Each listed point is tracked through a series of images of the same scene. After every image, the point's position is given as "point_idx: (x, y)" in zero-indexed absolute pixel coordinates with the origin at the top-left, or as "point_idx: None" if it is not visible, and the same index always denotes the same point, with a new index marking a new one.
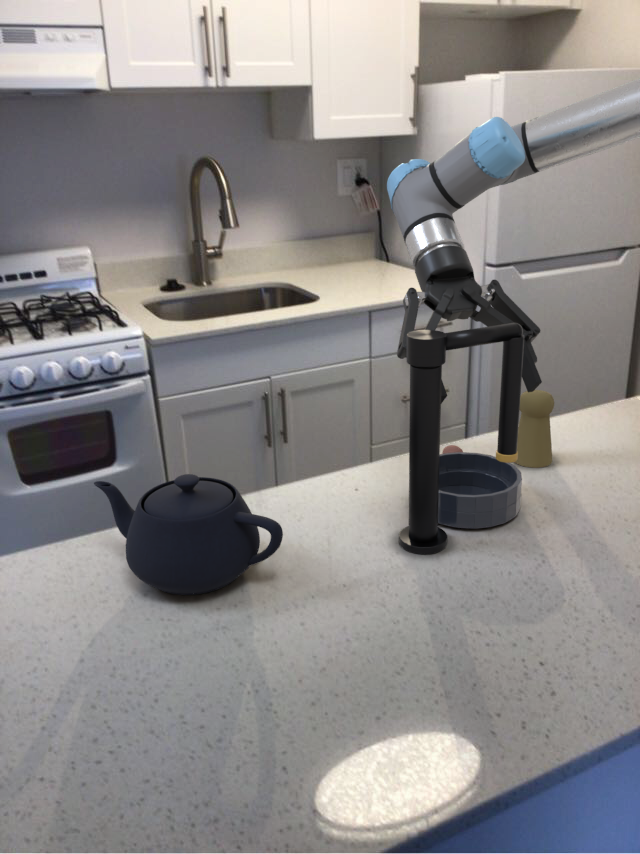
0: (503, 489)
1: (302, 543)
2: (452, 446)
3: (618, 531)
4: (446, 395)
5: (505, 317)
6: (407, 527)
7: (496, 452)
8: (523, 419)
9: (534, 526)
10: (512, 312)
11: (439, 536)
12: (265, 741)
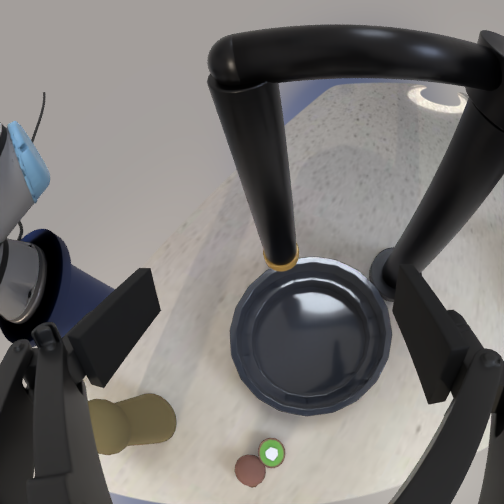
0: (253, 335)
1: (497, 312)
2: (249, 474)
3: (190, 230)
4: (401, 264)
5: (36, 412)
6: None
7: (297, 255)
8: (135, 429)
9: (260, 266)
10: (4, 419)
11: (381, 264)
12: None
